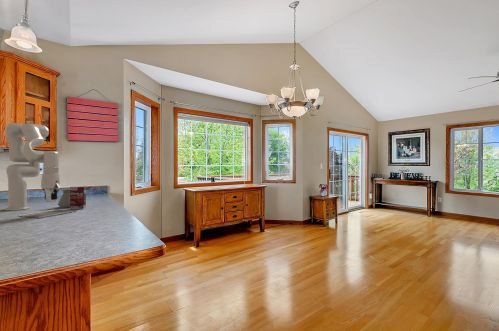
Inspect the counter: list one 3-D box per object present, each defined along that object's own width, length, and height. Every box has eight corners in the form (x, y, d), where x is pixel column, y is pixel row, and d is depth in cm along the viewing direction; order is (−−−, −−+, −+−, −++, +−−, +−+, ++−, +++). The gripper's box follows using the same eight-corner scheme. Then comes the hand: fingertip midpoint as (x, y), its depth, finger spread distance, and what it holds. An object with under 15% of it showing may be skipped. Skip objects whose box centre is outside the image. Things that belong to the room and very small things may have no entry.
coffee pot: (56, 209, 173) (57, 187, 173) (58, 206, 183) (58, 186, 183) (92, 206, 185) (92, 186, 185) (92, 204, 194) (92, 185, 194)
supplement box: (69, 209, 170) (69, 187, 171) (72, 208, 175) (72, 186, 175) (83, 209, 173) (83, 186, 173) (86, 208, 177) (86, 186, 178)
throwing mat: (18, 216, 146) (18, 215, 146) (56, 210, 168) (56, 209, 168) (40, 218, 142) (40, 217, 142) (76, 211, 163) (76, 210, 163)
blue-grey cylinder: (43, 201, 152) (43, 188, 152) (52, 200, 157) (52, 188, 157) (49, 202, 151) (49, 189, 151) (57, 200, 156) (57, 188, 156)
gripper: (34, 170, 153) (34, 199, 153) (54, 170, 148) (54, 200, 148) (47, 170, 160) (47, 198, 160) (67, 170, 156) (66, 199, 155)
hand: (50, 199), depth 154 cm, fingers closed on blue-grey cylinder, 4 cm apart
